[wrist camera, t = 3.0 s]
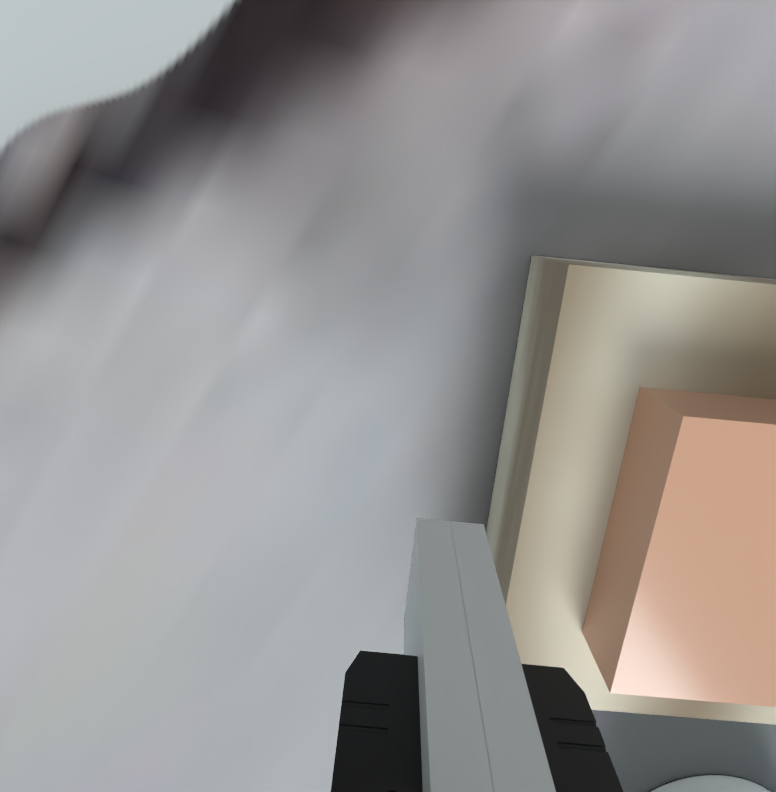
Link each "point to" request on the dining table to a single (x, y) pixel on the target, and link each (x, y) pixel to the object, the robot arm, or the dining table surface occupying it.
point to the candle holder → (711, 785)
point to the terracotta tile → (691, 553)
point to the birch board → (605, 436)
